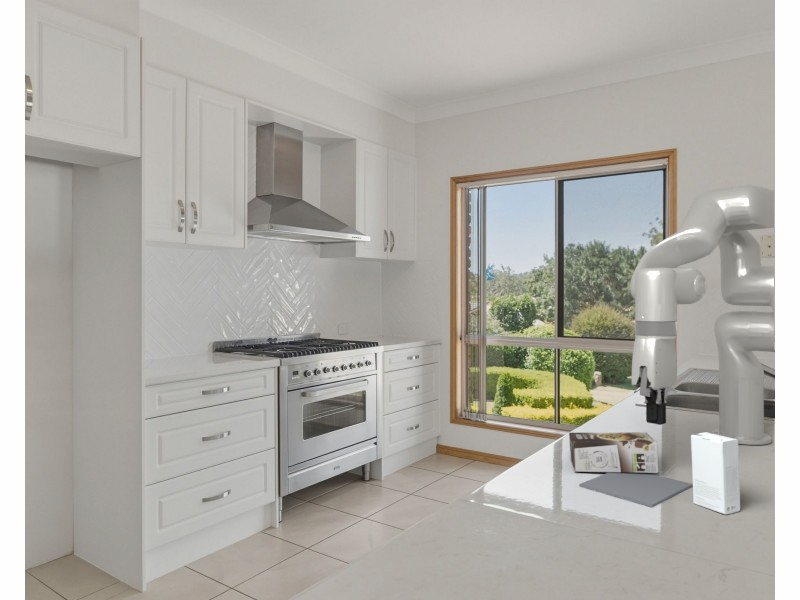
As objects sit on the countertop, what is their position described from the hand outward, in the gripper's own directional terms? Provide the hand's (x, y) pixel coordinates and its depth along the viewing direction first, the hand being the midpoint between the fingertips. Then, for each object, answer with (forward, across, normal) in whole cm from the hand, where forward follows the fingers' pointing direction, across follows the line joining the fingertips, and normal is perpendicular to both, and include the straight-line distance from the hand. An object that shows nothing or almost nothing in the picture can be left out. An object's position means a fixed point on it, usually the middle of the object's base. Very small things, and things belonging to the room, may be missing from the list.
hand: (656, 422), depth 111 cm
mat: (+11, +8, 0) cm, 13 cm away
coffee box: (+7, -4, -2) cm, 8 cm away
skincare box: (+11, +8, +14) cm, 20 cm away
